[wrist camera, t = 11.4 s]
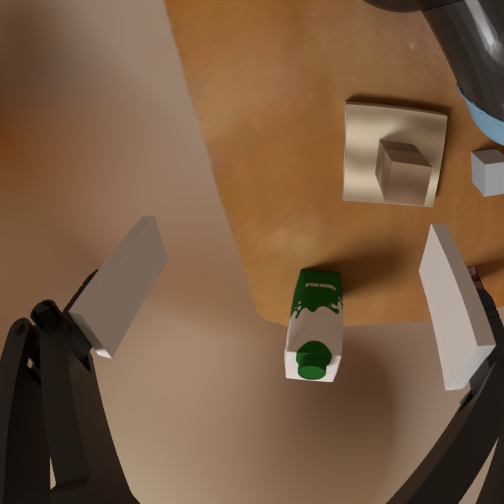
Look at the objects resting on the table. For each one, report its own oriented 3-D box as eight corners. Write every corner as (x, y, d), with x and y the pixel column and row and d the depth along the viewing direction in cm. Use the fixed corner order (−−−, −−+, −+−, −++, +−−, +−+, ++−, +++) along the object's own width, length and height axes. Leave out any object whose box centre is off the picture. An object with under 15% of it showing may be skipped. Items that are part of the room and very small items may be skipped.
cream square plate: (344, 100, 37) (346, 104, 34) (439, 111, 34) (447, 116, 31) (341, 191, 45) (342, 200, 43) (427, 197, 42) (432, 207, 40)
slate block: (470, 151, 35) (484, 164, 31) (496, 148, 33) (511, 161, 29) (471, 181, 38) (484, 196, 34) (496, 178, 36) (510, 192, 32)
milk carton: (344, 268, 53) (346, 366, 38) (338, 303, 59) (335, 396, 43) (295, 264, 55) (280, 361, 39) (293, 300, 60) (279, 391, 45)
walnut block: (379, 139, 36) (391, 161, 30) (414, 144, 35) (432, 167, 29) (374, 173, 39) (385, 201, 33) (408, 178, 38) (423, 206, 32)
